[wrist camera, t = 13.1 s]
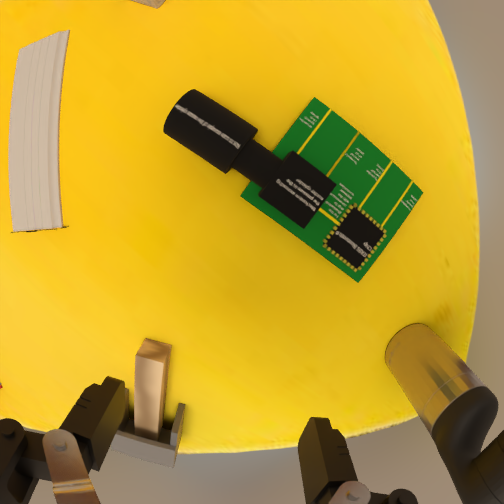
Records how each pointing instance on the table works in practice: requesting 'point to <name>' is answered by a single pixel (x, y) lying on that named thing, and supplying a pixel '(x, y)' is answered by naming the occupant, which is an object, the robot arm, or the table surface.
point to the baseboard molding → (36, 135)
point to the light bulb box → (151, 2)
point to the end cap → (147, 448)
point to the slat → (150, 388)
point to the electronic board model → (306, 177)
